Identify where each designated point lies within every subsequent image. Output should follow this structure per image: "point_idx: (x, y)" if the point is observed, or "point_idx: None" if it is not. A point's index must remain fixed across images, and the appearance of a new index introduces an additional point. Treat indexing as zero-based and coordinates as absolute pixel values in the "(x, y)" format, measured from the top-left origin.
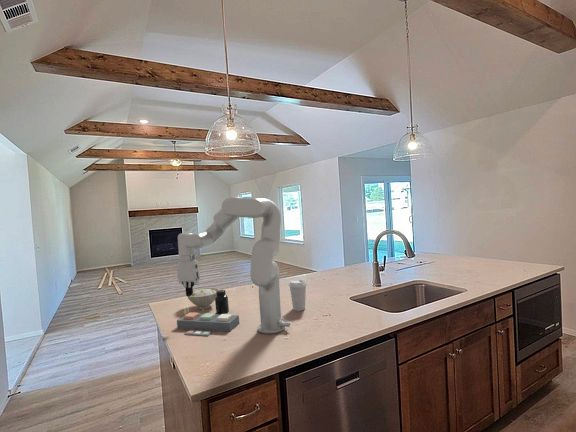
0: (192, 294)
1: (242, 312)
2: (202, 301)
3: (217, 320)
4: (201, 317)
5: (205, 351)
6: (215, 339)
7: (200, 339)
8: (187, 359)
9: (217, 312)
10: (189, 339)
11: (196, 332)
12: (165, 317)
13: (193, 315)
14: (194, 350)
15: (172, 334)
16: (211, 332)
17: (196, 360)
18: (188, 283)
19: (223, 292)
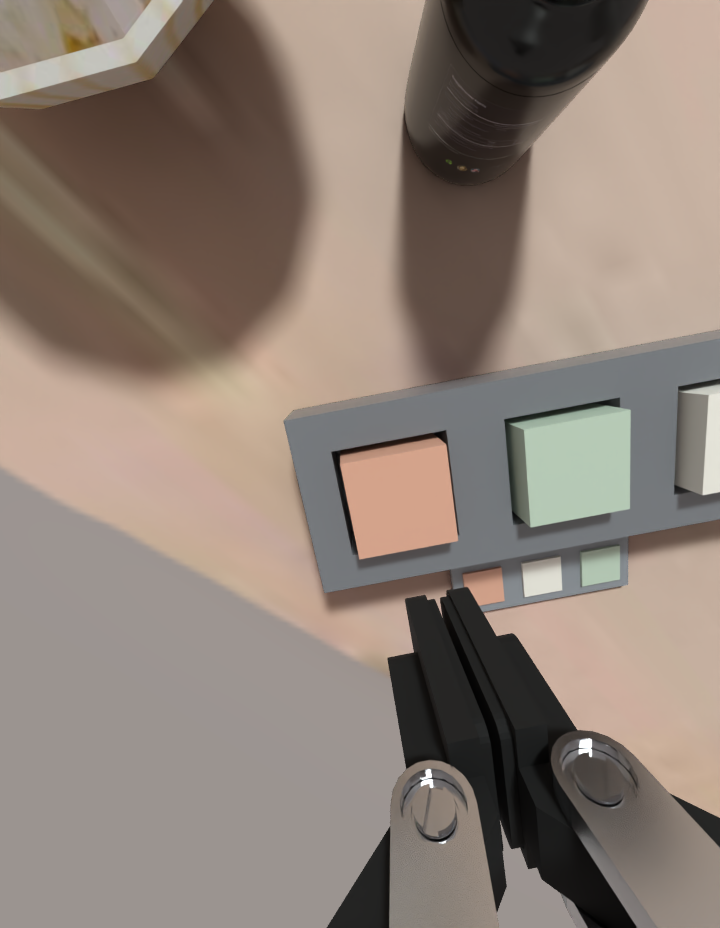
0: (466, 590)
1: (681, 26)
2: (172, 50)
3: (684, 487)
4: (541, 522)
5: (706, 710)
6: (693, 596)
7: (601, 625)
8: (660, 783)
9: (457, 177)
10: (534, 646)
11: (533, 585)
12: (4, 416)
13: (440, 519)
14: (644, 721)
15: (373, 633)
16: (626, 540)
17: (706, 775)
18: (495, 924)
19: None
